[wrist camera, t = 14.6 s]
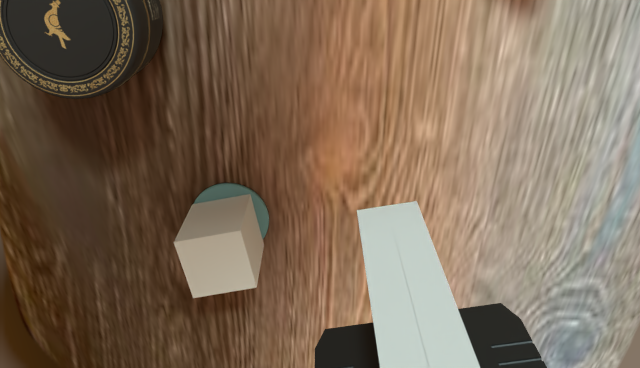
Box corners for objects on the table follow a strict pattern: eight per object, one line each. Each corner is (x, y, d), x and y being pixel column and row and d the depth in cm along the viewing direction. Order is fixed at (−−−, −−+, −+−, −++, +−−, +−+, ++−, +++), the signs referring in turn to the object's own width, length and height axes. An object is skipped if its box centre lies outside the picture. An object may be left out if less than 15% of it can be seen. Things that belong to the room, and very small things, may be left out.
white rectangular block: (192, 204, 45) (173, 242, 39) (250, 193, 45) (240, 230, 39) (208, 254, 47) (193, 298, 41) (264, 245, 47) (256, 287, 41)
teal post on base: (181, 190, 46) (160, 228, 39) (259, 176, 45) (250, 212, 39) (203, 257, 49) (186, 302, 42) (276, 244, 48) (270, 288, 42)
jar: (89, 98, 43) (45, 126, 36) (9, -20, 39) (-57, -15, 32) (194, 44, 41) (169, 61, 34) (121, -85, 37) (77, -95, 30)
